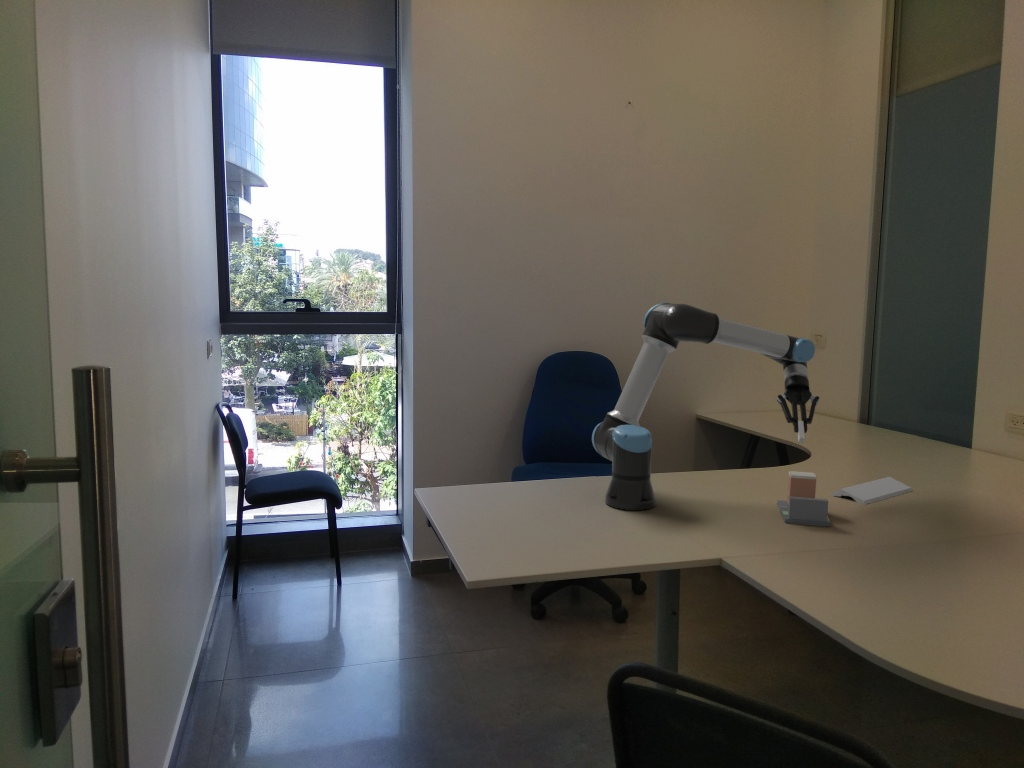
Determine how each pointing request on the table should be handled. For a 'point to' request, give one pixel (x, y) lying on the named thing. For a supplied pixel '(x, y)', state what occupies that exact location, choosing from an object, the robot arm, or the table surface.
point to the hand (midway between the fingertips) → (801, 440)
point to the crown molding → (874, 490)
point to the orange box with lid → (801, 485)
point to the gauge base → (805, 511)
